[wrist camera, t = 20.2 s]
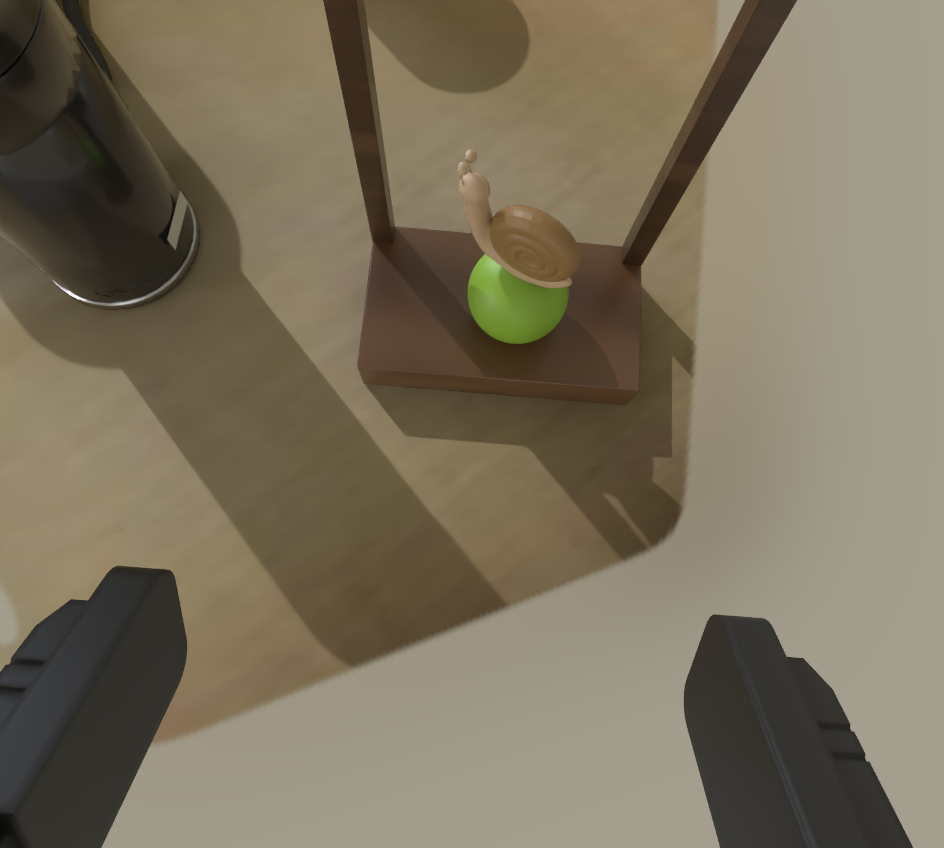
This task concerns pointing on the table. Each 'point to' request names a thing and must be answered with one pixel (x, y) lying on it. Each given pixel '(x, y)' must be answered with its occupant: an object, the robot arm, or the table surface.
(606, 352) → the shelf unit
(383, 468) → the table surface
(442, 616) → the table surface
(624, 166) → the table surface
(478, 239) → the snail figurine
